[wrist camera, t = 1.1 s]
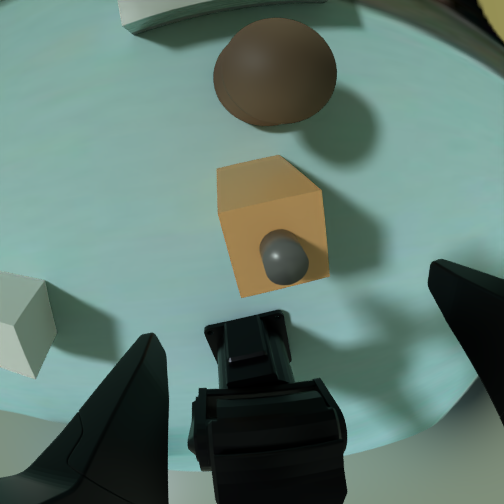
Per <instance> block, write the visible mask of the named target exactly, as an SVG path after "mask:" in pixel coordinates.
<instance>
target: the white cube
mask: <svg viewBox="0 0 504 504" xmlns="http://www.w3.org/2000/svg"><path fill="white" fill-rule="evenodd" d="M56 335H57V330H56V326H55V322H54V318H53V314H52V310H51V306H50V301H49V297H48V292H47V287H46V282H45V280H42V279H37V278H32V277H27V276H22V275H17V274H13V273H8V272H3V271H0V367H1V368H4V369H7V370H9V371H12V372H15V373H18V374H21V375H24V376H27V377H30V378H33V379H36V378H37V376H38V373H39V371H40V369H41V366H42V364H43V362H44V360H45V358H46V355H47V353H48V351H49V349H50V347H51V345H52V343H53V341H54V339H55V337H56Z"/></svg>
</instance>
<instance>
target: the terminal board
mask: <svg viewBox="0 0 504 504" xmlns="http://www.w3.org/2000/svg"><path fill="white" fill-rule="evenodd" d="M326 1H327V0H118V6H119V11H120V17H121V22H122V26H123V27H124V28H125V29H127V30H128V31H129V32H130V33H132V34H133V35H136V34H139V33H141V32H144V31H147V30H150V29H154V28H157V27H160V26H163V25H167V24H170V23H174V22H178V21H181V20H185V19H189V18H193V17H198V16H202V15H207V14H211V13H216V12H222V11H227V10H233V9H240V8H247V7H254V6H263V5H273V4H286V3H309V2H326Z"/></svg>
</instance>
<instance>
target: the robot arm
mask: <svg viewBox="0 0 504 504" xmlns="http://www.w3.org/2000/svg"><path fill="white" fill-rule="evenodd" d="M428 287H429V290H430V292H431V294H432V295H433V297H434V299H435V301H436V303H437V305H438V306H439V308H440V310H441V312H442V314H443V316H444V318H445V320H446V322H447V323H448V325H449V327H450V328H451V330H452V332H453V333H454V335H455V336H456V338H457V340H458V341H459V343H460V345H461V346H462V348H463V349H464V351H465V353H466V355H467V356H468V358H469V360H470V361H471V363H472V365H473V367H474V368H475V370H476V372H477V374H478V376H479V377H480V379H481V381H482V383H483V385H484V387H485V389H486V391H487V393H488V394H489V396H490V398H491V400H492V402H493V404H494V406H495V408H496V411H497V413H498V414H499V416H500V419H501V421H502V424H503V426H504V279H501V278H498V277H495V276H492V275H489V274H486V273H483V272H481V271H478V270H475V269H472V268H469V267H466V266H463V265H460V264H456V263H453V262H450V261H447V260H444V259H438V260H436V261H433V262H432V263H431V264H430V270H429V277H428ZM275 316H279V317H275ZM209 331H212V332H209ZM204 334H205V337H206V339H207V341H208V343H209V346H210V348H211V350H212V353H213V355H214V357H215V359H216V361H217V364H218V375H219V389H207V388H199V395H198V397H196V401H194V402H193V403H192V423H191V428H190V432H189V437H188V449H189V450H190V451H191V452H192V453H194V454H195V455H196V458H197V461H198V462H199V464H200V468H201V471H212V476H213V485H214V492H215V500H216V503H217V504H343V502H344V499H345V497H346V494H347V486H346V479H345V472H344V461H343V453H344V451H345V449H346V445H347V428H346V423H345V419H344V416H343V414H342V412H341V410H340V408H339V406H338V405H337V403H336V402H335V400H334V399H333V397H332V396H331V394H330V392H329V391H328V389H327V388H326V386H325V385H324V383H323V381H322V380H321V378H317V379H313V380H311V381H304V382H296V383H295V381H294V377H293V373H292V370H291V366H290V362H291V354H290V348H289V343H288V337H287V332H286V326H285V321H284V316H283V313H282V311H280V310H275V311H270V312H266V313H262V314H258V315H253V316H249V317H245V318H240V319H236V320H231V321H226V322H222V323H217V324H212V325H208V326H206V327H205V328H204ZM168 418H169V391H168V376H167V358H166V353H165V350H164V349H163V347H162V345H161V343H160V341H159V340H158V338H157V336H156V335H155V334H154V333H147V334H142V335H141V336H140V337H139V338H138V339H137V340H136V341H135V343H134V344H133V345H132V346H131V347H130V349H129V350H128V351H127V352H126V353H125V355H124V356H123V357H122V358H121V359H120V361H119V362H118V363H117V364H116V365H115V367H114V368H113V369H112V370H111V372H110V373H109V374H108V375H107V376H106V378H105V379H104V380H103V381H102V383H101V384H100V385H99V386H98V387H97V389H96V390H95V391H94V392H93V394H92V395H91V396H90V397H89V399H88V400H87V401H86V402H85V404H84V405H83V406H82V407H81V409H80V410H79V412H77V414H76V415H75V416H74V417H73V419H72V420H71V421H70V422H69V423H68V425H67V426H66V427H65V428H64V430H63V431H62V432H61V433H60V434H59V435H58V436H57V438H56V439H55V440H54V441H53V442H52V443H51V444H50V445H49V446H48V447H47V448H46V450H45V451H44V452H43V453H42V454H41V455H40V456H39V457H38V458H37V459H36V460H35V461H34V462H33V463H32V464H31V465H30V467H28V468H27V469H26V470H24V471H23V472H21V473H19V474H16V475H13V476H8V477H3V478H0V504H169V503H168Z"/></svg>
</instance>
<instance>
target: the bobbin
mask: <svg viewBox="0 0 504 504" xmlns="http://www.w3.org/2000/svg"><path fill="white" fill-rule="evenodd" d="M213 77H214V87H215V91H216V94H217V96H218V98H219V100H220V102H221V103H222V105H223V106H224V107H225V108H226V110H228V111H229V112H230V113H231V114H232V115H234V116H235V117H236V118H238V119H240V120H242V121H244V122H247V123H250V124H253V125H259V126H274V125H279V124H289V123H295V122H300V121H302V120H305V119H307V118H309V117H311V116H313V115H314V114H316V113H317V112H319V111H320V110H321V109H322V108H323V107H324V106H325V105H326V103H327V102H328V101H329V99H330V98H331V96H332V94H333V91H334V88H335V85H336V79H337V69H336V62H335V59H334V56H333V53H332V51H331V49H330V48H329V46H328V44H327V43H326V42H325V40H324V39H323V38H322V37H321V36H320V35H319V34H318V33H317V32H316V31H314V30H313V29H312V28H310V27H308V26H307V25H305V24H302V23H300V22H298V21H295V20H291V19H286V18H267V19H262V20H259V21H255V22H253V23H251V24H249V25H247V26H246V27H244V28H242V29H241V30H240V31H239V32H238V33H237V34H236V35H235V36H234V37H233V38H232V39H231V41H230V42H229V44H228V45H227V46H226V47H225V48H224V49H223V50H222V52H221V53H220V55H219V57H218V59H217V61H216V64H215V68H214V74H213Z"/></svg>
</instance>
